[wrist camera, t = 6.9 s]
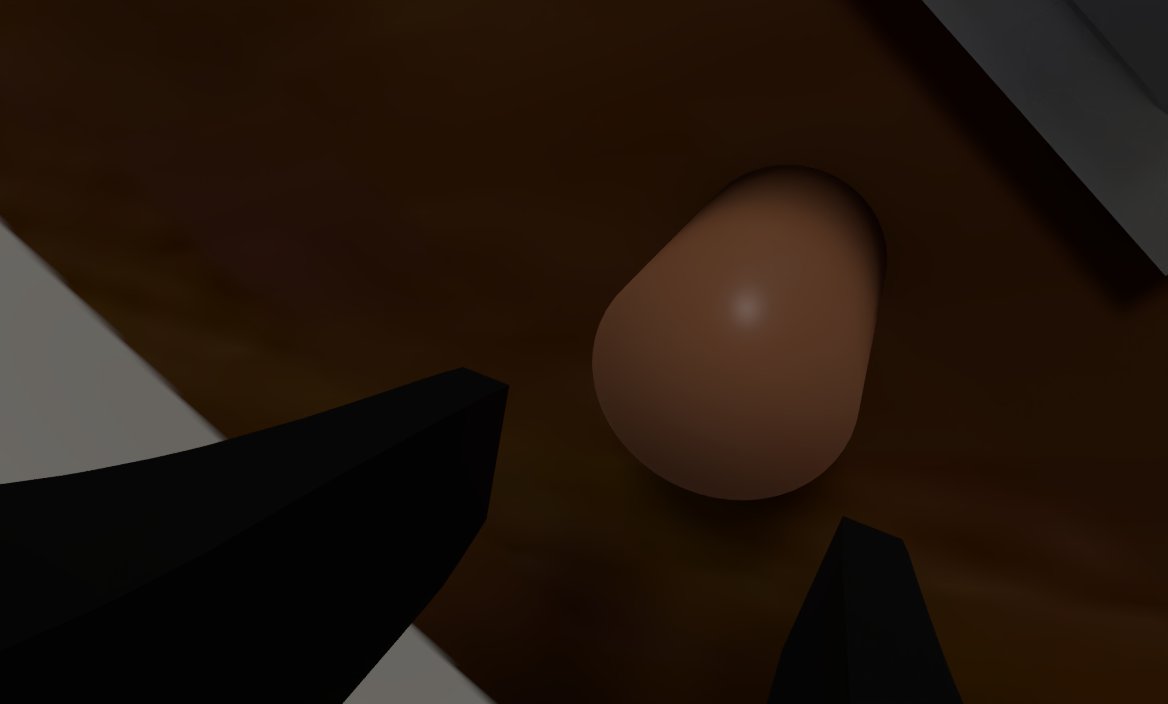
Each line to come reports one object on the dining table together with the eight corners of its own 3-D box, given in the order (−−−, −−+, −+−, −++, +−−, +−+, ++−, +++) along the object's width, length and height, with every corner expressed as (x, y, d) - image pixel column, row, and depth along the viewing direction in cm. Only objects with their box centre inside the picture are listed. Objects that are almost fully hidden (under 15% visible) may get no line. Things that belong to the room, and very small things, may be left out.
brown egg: (930, 273, 16) (923, 413, 11) (776, 381, 18) (712, 540, 13) (795, 122, 16) (725, 195, 11) (655, 249, 18) (543, 360, 13)
